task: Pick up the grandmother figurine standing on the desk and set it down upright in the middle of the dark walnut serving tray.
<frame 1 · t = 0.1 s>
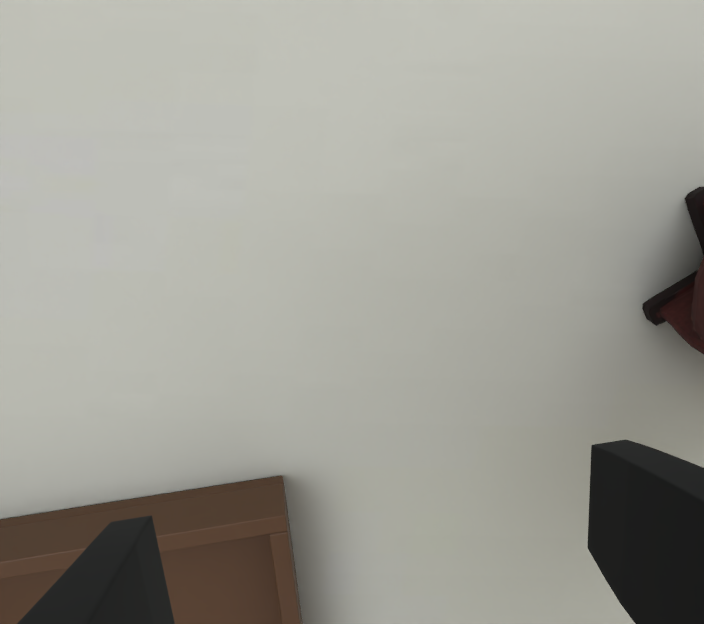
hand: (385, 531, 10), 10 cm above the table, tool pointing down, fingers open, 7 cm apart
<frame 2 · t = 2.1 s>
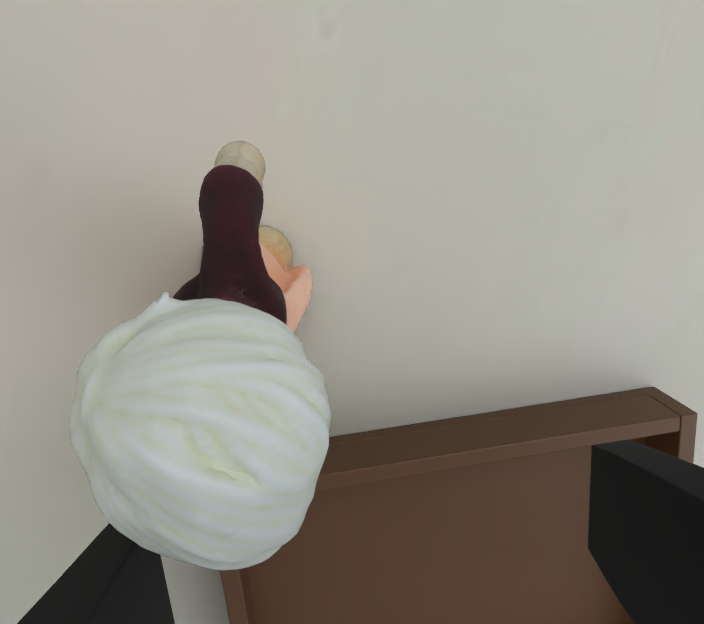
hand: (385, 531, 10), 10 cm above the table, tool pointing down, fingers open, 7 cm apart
tray: (450, 562, 23), on the table
grandmother figurine: (248, 277, 19), on the table
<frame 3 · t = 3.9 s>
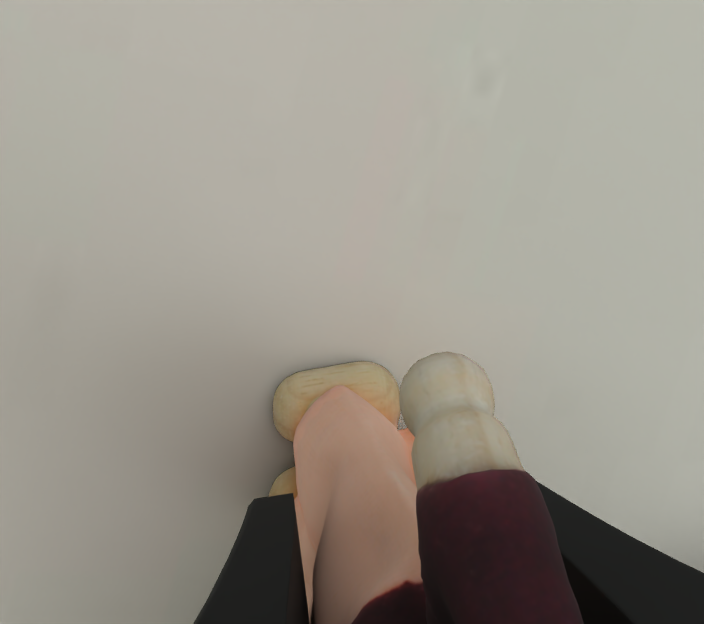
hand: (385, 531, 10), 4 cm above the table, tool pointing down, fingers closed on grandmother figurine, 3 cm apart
grandmother figurine: (335, 428, 13), on the table, touching gripper
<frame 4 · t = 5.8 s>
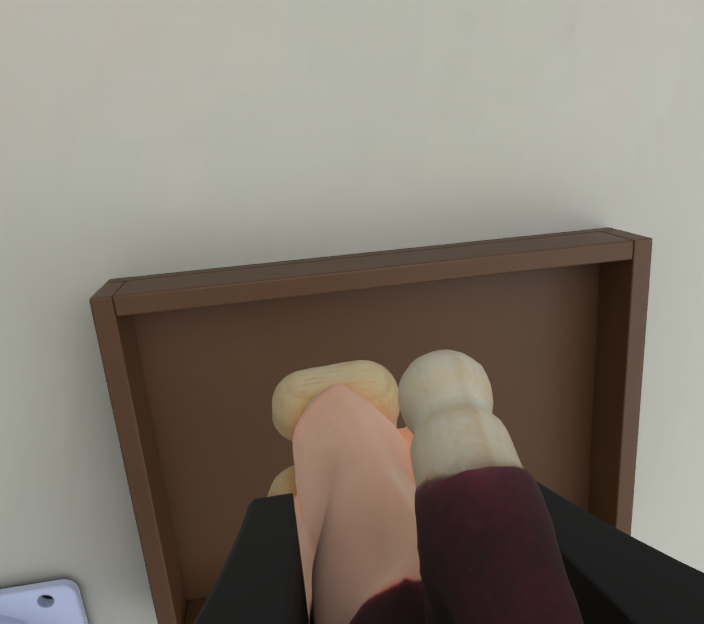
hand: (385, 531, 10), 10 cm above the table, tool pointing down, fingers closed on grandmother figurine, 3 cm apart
tray: (383, 423, 21), on the table
grandmother figurine: (334, 427, 13), point 7 cm above the table, touching gripper
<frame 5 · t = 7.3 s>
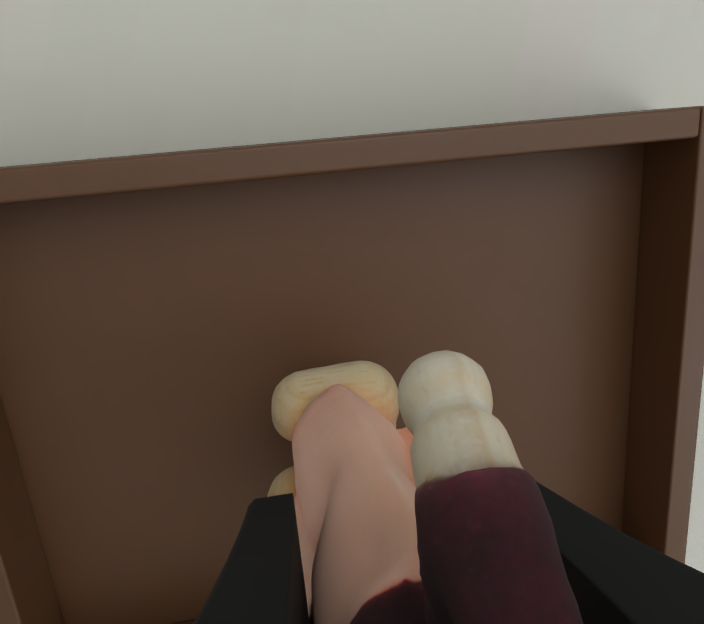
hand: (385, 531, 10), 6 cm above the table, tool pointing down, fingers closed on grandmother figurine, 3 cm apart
tray: (340, 393, 15), on the table
grandmother figurine: (333, 428, 13), point 2 cm above the table, touching gripper
when the fingers open (4 cm above the table, at t = 8.0 s): grandmother figurine stays where it is, resting on tray.
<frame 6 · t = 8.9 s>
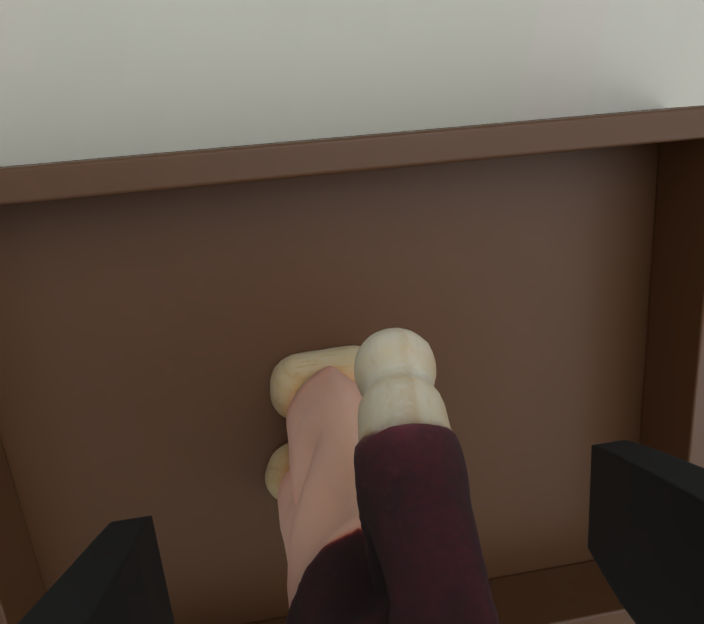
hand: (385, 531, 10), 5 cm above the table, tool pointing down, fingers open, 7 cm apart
tray: (343, 401, 14), on the table
grandmother figurine: (329, 408, 14), resting on tray
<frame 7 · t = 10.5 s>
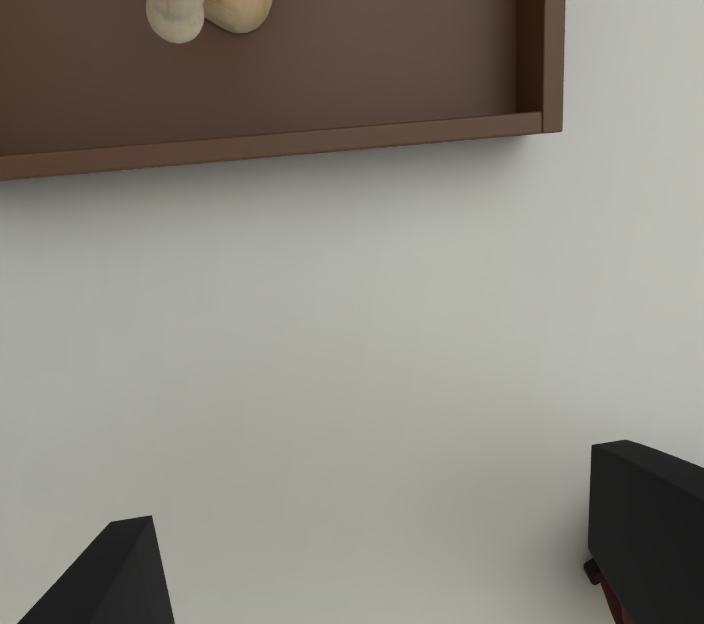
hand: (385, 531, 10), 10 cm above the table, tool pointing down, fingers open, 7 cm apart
mate gourd: (637, 531, 24), on the table
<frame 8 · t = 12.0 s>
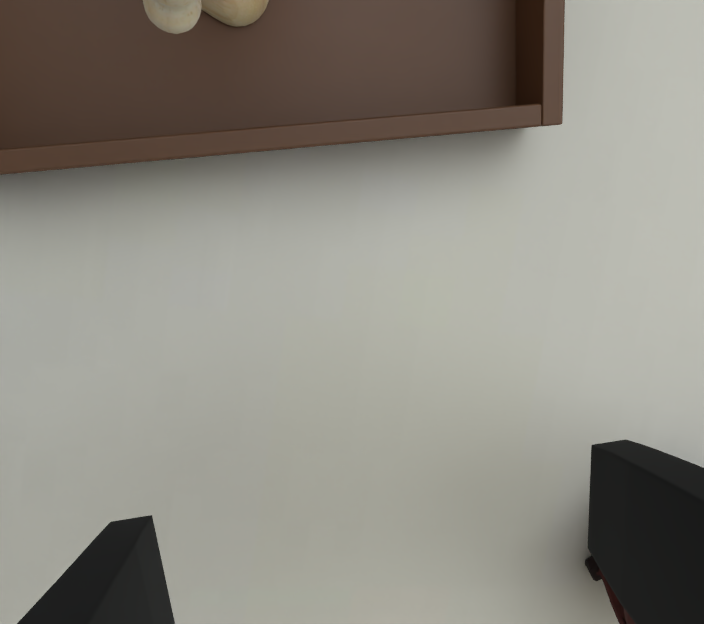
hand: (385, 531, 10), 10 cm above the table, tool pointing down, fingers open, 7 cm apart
mate gourd: (639, 527, 24), on the table
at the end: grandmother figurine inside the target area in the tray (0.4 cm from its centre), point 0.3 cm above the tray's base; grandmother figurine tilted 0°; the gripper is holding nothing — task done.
